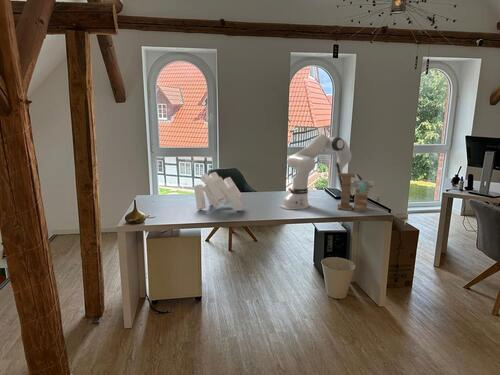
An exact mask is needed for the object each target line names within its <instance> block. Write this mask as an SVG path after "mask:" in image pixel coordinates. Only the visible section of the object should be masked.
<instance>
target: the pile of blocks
mask: <svg viewBox="0 0 500 375" xmlns="http://www.w3.org/2000/svg"><path fill="white" fill-rule="evenodd" d="M199 180H201V182H202V183H203V184H197V185H193V189H194V190H193V191H194V195H195V196H194V197H195V203H196V210H204V209H207V205H206V199H207V201H208V204H209V206H213V208H214V209H215V208H218V207H220V206H221V204H223V205H224V206H226V205H229V204H230V203H231V201H232V202H233V205H234V207H235V209H236V211H237V212H238V211H240V210H242V209H244V206H243V203H242V200H241V198H242V196H243V194H242V193H241V191H240V190H239V188H238V187H237V185H236V183H235V182H234V181H233V179H232V178H231V176H228V177H225V178H222V176H220V175H219V174H218V173H217V171H214V172H211V173H209V174H207V173H206V172H204V173H203V174H202V175H201V176H200V178H199ZM205 197H206V199H205Z"/></svg>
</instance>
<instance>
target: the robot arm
mask: <svg viewBox="0 0 500 375" xmlns="http://www.w3.org/2000/svg"><path fill="white" fill-rule="evenodd" d="M323 151H326V152H327V151H329V152H335V154H336V157H337V158H336V162H335V171H336V177H337V184H338V187H339V189H340V190H341V191H342V177H338V173H343V169H344V168H345V167H346V165H347V164H348V163H350V162H351V159H352V152H351V149H350V147H349V145H348V143H347V141H346V140H345V139H343V138H341V137H339V136H327V135H326V134H324V133H321V134H318V135H317V136H316V137H314V138H313V139H312V140H311V141H310V142H309V143H308V144H307V145H306V146H305V147H304V148H302V149H301V150H299V151H297V152H295V153H294V154H290V155H289V156H288V157H287V159H286V165H287V166H288V167H290V168H291V169H293V170H297V172H296V175H294V176H293V177H292V188H291V187H288V191H289V192H290V193H288V194H287V195H286V196H284V197H283V199H282V203H279V207H280V208H281V209H284V210H290V211H291V210H302V209H303V210H305V209H307V208H308V207H309V206H310V204H309V202H308V201H309V200H308V193H309V187H308V181H309V180H308V179H309V175H310V173H311V172H312V171H313V170H314V169H315V167H316V161H315V158H317V157H318V156H319V155H320V154H321V153H322V152H323ZM353 174H355V178H351V186H350V189H351V188H352V192H353V194H354V195H355V188H358V182H363V183H364V186H365V188H367V191H368V192H369V191H371V190H372V189H373V188H374V186H375V185H374V184H375V181H373V180H369V179H366V180H363V178H362V177H361V176H360V174H358V173H353Z"/></svg>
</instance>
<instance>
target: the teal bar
mask: <svg viewBox="0 0 500 375" xmlns="http://www.w3.org/2000/svg"><path fill="white" fill-rule="evenodd" d="M358 188H359V192H360V193H365V186H364V183H363V182H358Z"/></svg>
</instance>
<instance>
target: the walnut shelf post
mask: <svg viewBox="0 0 500 375" xmlns="http://www.w3.org/2000/svg"><path fill="white" fill-rule="evenodd" d="M338 177H342V190H341V191H340V192H341V194H340V203H339V204H337V210H338V211H339V210H341V211H352V210H353V206H352V204H350V199H351V198H350V197H351V188H350V186H351V178H355V174H354V173H349V172H347V173H345V172H342V173H338ZM338 177H337V178H338Z"/></svg>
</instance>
